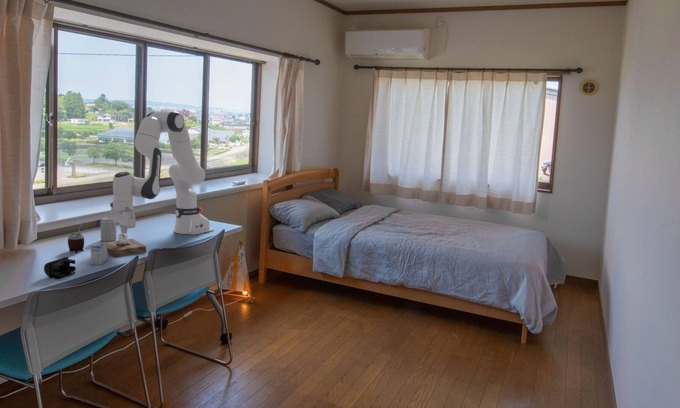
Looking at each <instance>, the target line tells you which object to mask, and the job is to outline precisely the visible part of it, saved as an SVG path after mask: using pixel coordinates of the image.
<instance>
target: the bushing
mask: <svg viewBox="0 0 680 408" xmlns="http://www.w3.org/2000/svg"><path fill="white" fill-rule="evenodd" d="M117 239H118V240H117V241H119V247H120V246H127V239H128V233H127V234H123V233H119V234H118V236H117Z"/></svg>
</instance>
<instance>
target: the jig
mask: <svg viewBox="0 0 680 408" xmlns="http://www.w3.org/2000/svg"><path fill="white" fill-rule="evenodd" d="M146 252H147V245H145V244H143V243H141V242H139V241H138V240H135V239H133V238H127V246H120V247H119V241H118V240H115V241H112V242H107V255H110V256H111V257H113V258H114V257H116V258H117V257H121V256H127V255H135V254H141V253H146Z"/></svg>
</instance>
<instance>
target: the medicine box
mask: <svg viewBox="0 0 680 408" xmlns="http://www.w3.org/2000/svg"><path fill="white" fill-rule="evenodd" d="M90 257H91V258H90V260H91V261H90V262H91V263H90V264H91V265H92V266H93V265H94V266H101V265H102V264H104V263H105V262H106V261H107V260H108V253H107V242H103V241H97V242H95V243H93V244H92V245H91V247H90Z"/></svg>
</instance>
